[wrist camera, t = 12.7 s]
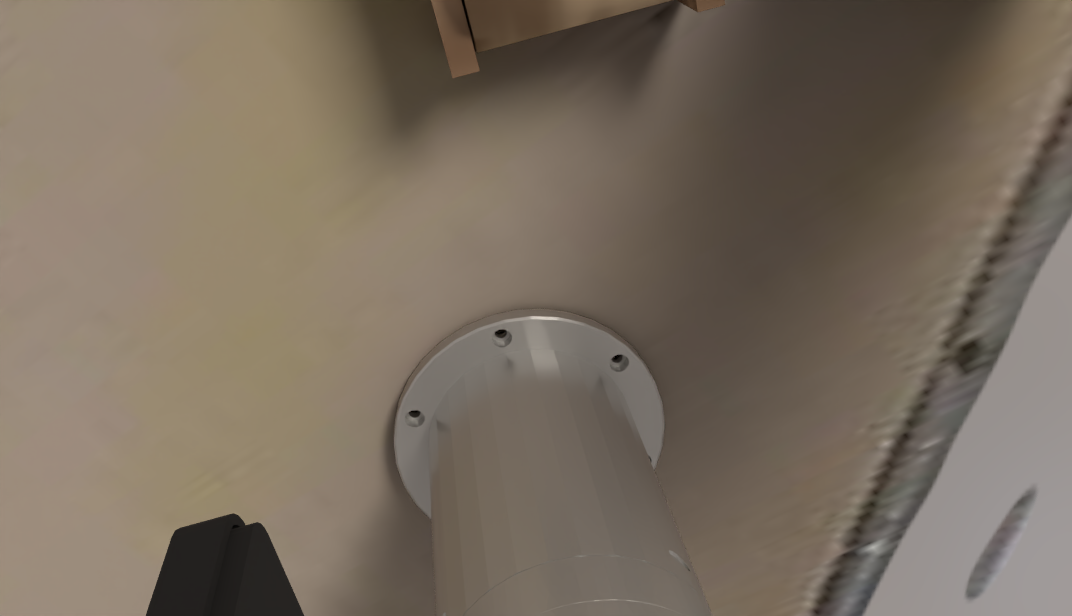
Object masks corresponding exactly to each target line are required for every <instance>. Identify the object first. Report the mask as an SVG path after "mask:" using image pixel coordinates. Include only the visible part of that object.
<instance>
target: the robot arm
mask: <svg viewBox="0 0 1072 616" xmlns="http://www.w3.org/2000/svg"><path fill="white" fill-rule="evenodd" d="M499 329H505V332H504V333H502V334H497V333H496V331H498V330H499ZM616 355H620V356H619V357H618V358H612V357H614V356H616ZM412 410H418V411H419V412H417V413H412V412H410V411H412ZM664 431H665V421H664V411H663V403H662V400H661V397H660V394H659V391H658V388H657V385H656V383H655V381H654V379H653V377H652V375H651V373H650V371H649V369H648V367H647V365H646V364H645V362H644V361H643V360H642V358H641V357H640V356H639V355H638V353H637V352H636V351H635V349H634V348H633V347H632V346H631V345H630V344H629V343H627V342H626V341H625V340H624V339H623V338H622V337H620V336H619V335H618V334H617V333H616V332H614V331H613V330H611V329H609V328H607V327H605V326H604V325H602V324H600V323H598V322H596V321H594V320H592V319H589V318H586V317H583V316H580V315H577V314H574V313H570V312H566V311H558V310H550V309H523V310H513V311H508V312H504V313H500V314H495V315H491V316H488V317H485V318H483V319H480V320H478V321H476V322H473V323H471V324H468V325H466V326H464V327H462V328H461V329H459V330H458V331H456V332H455V333H453V334H451V335H450V336H448V337H447V338H445V339H444V340H442V341H441V342H440V343H439V344H438V345H437V346H436V347H435V348H434V349H433V350H431V351H430V352H429V353H428V354H427V355H426V356H425V357H424V358H423V359H422V361H421V362H420V364H419V365H418V366H417V368H416V369H415V370H414V372H413V373H412V375H411V376H410V377H409V379H408V381H407V384H406V386H405V388H404V390H403V392H402V395H401V397H400V399H399V403H398V407H397V412H396V417H395V422H394V450H395V458H396V465H397V468H398V471H399V474H400V476H401V479H402V482H403V485H404V487H405V488H406V490H407V492H408V493H409V495H410V496H411V498H412V499H413V501H414V503H415V504H416V505H417V506H418V507H419V508H420V510H421V511H422V512H423V513H424V514H425V515H426V516H427V517H428V518H429V519H430V520H431V523H432V545H433V568H434V590H435V613H436V616H713V615H712V613H711V611H710V608H709V606H708V603H707V601H706V598H705V596H704V593H703V591H702V588H701V586H700V583H699V581H698V578H697V576H696V573H695V571H694V568H693V566H692V563H691V561H690V558H689V556H688V553H687V551H686V548H685V546H684V543H683V541H682V538H681V536H680V534H679V531H678V529H677V526H676V524H675V521H674V519H673V516H672V514H671V511H670V509H669V506H668V504H667V501H666V499H665V496H664V494H663V491H662V489H661V486H660V484H659V481H658V479H657V476H656V474H655V469H656V466H657V463H658V460H659V457H660V454H661V451H662V448H663V439H664ZM146 616H304V614H303V612H302V610H301V607H300V605H299V603H298V601H297V598H296V596H295V594H294V592H293V589H292V587H291V585H290V583H289V580H288V578H287V576H286V574H285V571H284V569H283V567H282V565H281V562H280V560H279V558H278V556H277V553H276V551H275V549H274V547H273V544H272V542H271V540H270V537H269V535H268V533H267V531H266V530H265V528H264V527H263V525H262V524H261V523H258V522H257V523H253V524H249V525H245V523H244V521H243V520H242V519H241V518H240V517H239V516H238V515H236V514H229V515H226V516H222V517H218V518H215V519H211V520H207V521H204V522H200V523H196V524H193V525H189V526H185V527H182V528H179V529H177V530H175V532H174V534H173V536H172V538H171V541H170V544H169V547H168V550H167V553H166V556H165V559H164V562H163V565H162V568H161V571H160V574H159V577H158V580H157V583H156V586H155V589H154V592H153V595H152V598H151V601H150V604H149V607H148V611H147V614H146Z"/></svg>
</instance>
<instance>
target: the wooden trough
mask: <svg viewBox="0 0 1072 616" xmlns="http://www.w3.org/2000/svg"><path fill="white" fill-rule="evenodd" d="M668 1H672V0H431V2H432V6H433V9H434V13H435V17H436V20H437V24H438V27H439V31H440V35H441V38H442V42H443V45H444V49H445V53H446V56H447V60H448V64H449V67H450V71H451V74H452V78H456V77H460V76H463V75H467V74H471V73H475V72H478V71H480V69H479V66H478V62H477V58H476V54H475V51H476V52H477V53H479V52H482V51H486V50H490V49H494V48H497V47H501V46H505V45H508V44H512V43H516V42H520V41H523V40H527V39H531V38H534V37H538V36H542V35H546V34H549V33H553V32H557V31H560V30H564V29H568V28H571V27H575V26H579V25H583V24H586V23H590V22H594V21H597V20H601V19H605V18H609V17H612V16H616V15H620V14H623V13H627V12H631V11H635V10H638V9H642V8H646V7H649V6H653V5H657V4H661V3H664V2H668ZM677 1H679V2H681V3H683V4H684V5H686V6H688V7H690V8H691V9H693V10H695V11H697V12H701V11H705V10H708V9H712V8H716V7H719V6H723V5H725V1H724V0H677Z"/></svg>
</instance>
